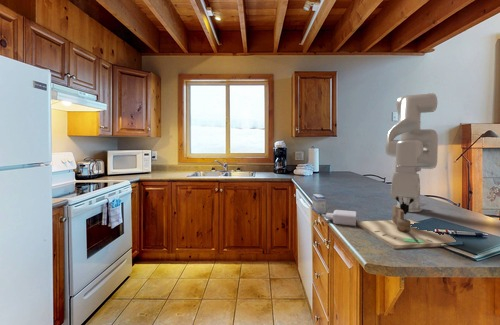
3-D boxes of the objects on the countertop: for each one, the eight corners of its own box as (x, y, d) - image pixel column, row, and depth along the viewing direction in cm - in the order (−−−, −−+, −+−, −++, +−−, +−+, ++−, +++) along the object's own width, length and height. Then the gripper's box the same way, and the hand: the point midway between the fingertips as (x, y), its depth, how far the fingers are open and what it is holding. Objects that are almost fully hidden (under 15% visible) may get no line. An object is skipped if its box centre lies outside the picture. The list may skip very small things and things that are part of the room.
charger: (322, 217, 125) (356, 220, 119) (320, 223, 116) (355, 226, 111) (322, 207, 125) (356, 210, 119) (320, 212, 116) (356, 216, 110)
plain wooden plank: (388, 220, 113) (388, 205, 112) (399, 221, 112) (399, 205, 111) (409, 241, 90) (410, 222, 89) (424, 242, 89) (424, 222, 88)
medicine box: (312, 209, 138) (312, 194, 137) (320, 209, 138) (320, 193, 138) (317, 214, 130) (317, 197, 130) (325, 213, 131) (325, 197, 130)
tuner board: (411, 222, 115) (411, 218, 115) (463, 245, 90) (463, 241, 89) (355, 224, 113) (355, 221, 113) (393, 248, 87) (393, 244, 87)
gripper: (428, 170, 104) (426, 214, 106) (387, 168, 114) (386, 208, 115) (426, 172, 99) (424, 218, 100) (383, 169, 108) (382, 212, 109)
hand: (404, 213), depth 108 cm, fingers closed
